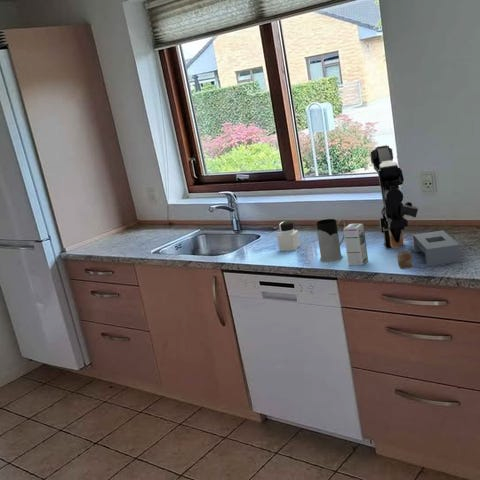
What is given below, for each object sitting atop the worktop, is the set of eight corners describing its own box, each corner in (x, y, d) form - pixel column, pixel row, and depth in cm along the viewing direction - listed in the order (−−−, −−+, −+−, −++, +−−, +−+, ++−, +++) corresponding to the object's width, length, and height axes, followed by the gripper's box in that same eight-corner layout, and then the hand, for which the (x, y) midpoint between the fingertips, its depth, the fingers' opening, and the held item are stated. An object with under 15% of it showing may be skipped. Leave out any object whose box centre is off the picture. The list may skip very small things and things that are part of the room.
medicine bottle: (300, 245, 246) (296, 219, 243) (294, 250, 240) (290, 223, 237) (285, 246, 249) (281, 220, 246) (279, 251, 243) (275, 224, 240)
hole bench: (428, 265, 194) (426, 249, 192) (414, 249, 213) (413, 234, 212) (460, 261, 193) (459, 244, 191) (444, 245, 212) (443, 230, 211)
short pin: (400, 268, 196) (399, 255, 195) (398, 265, 200) (397, 252, 198) (412, 267, 195) (411, 253, 194) (410, 263, 199) (408, 250, 198)
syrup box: (363, 265, 206) (358, 227, 202) (347, 265, 209) (342, 227, 206) (368, 260, 210) (363, 223, 207) (353, 260, 214) (348, 223, 210)
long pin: (392, 248, 207) (390, 224, 205) (390, 245, 211) (388, 222, 209) (403, 246, 207) (401, 223, 205) (401, 243, 211) (398, 220, 209)
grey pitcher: (315, 260, 222) (310, 223, 218) (340, 250, 229) (336, 214, 226) (331, 263, 215) (326, 225, 211) (356, 252, 222) (352, 215, 219)
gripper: (420, 201, 195) (424, 244, 199) (409, 191, 213) (412, 231, 217) (388, 206, 196) (392, 248, 200) (379, 196, 214) (383, 235, 218)
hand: (396, 240), depth 209 cm, fingers closed on long pin, 4 cm apart
